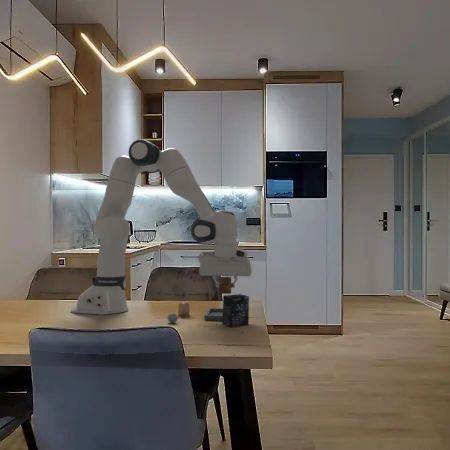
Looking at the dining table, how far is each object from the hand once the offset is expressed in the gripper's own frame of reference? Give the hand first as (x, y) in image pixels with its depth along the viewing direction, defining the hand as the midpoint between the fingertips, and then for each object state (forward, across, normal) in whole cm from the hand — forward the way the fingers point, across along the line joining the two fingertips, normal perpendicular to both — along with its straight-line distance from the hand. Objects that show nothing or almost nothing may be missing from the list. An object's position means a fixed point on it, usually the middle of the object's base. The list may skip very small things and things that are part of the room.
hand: (225, 287), depth 201 cm
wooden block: (+11, -16, +1) cm, 20 cm away
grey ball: (+11, -18, -14) cm, 26 cm away
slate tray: (+11, 0, 0) cm, 11 cm away
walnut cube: (+2, 0, 0) cm, 2 cm away
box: (+12, +5, -15) cm, 20 cm away
